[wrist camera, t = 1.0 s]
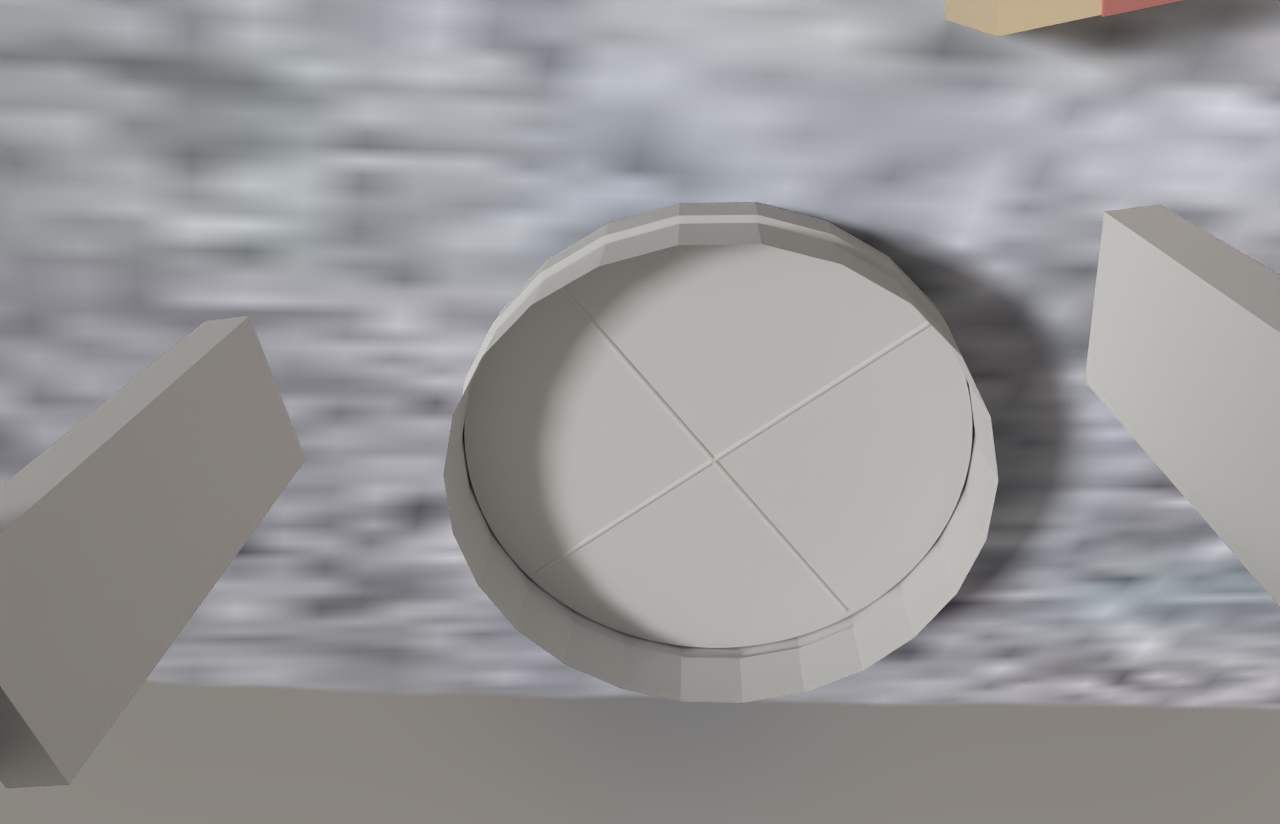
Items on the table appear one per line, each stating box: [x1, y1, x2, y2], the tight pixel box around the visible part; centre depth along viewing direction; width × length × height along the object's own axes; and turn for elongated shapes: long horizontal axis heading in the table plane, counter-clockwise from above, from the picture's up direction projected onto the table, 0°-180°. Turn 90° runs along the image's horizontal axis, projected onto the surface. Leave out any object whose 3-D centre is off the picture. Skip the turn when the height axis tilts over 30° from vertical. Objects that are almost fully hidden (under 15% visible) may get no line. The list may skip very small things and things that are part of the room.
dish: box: [444, 202, 998, 703], centre depth 36 cm, size 22×22×5 cm
